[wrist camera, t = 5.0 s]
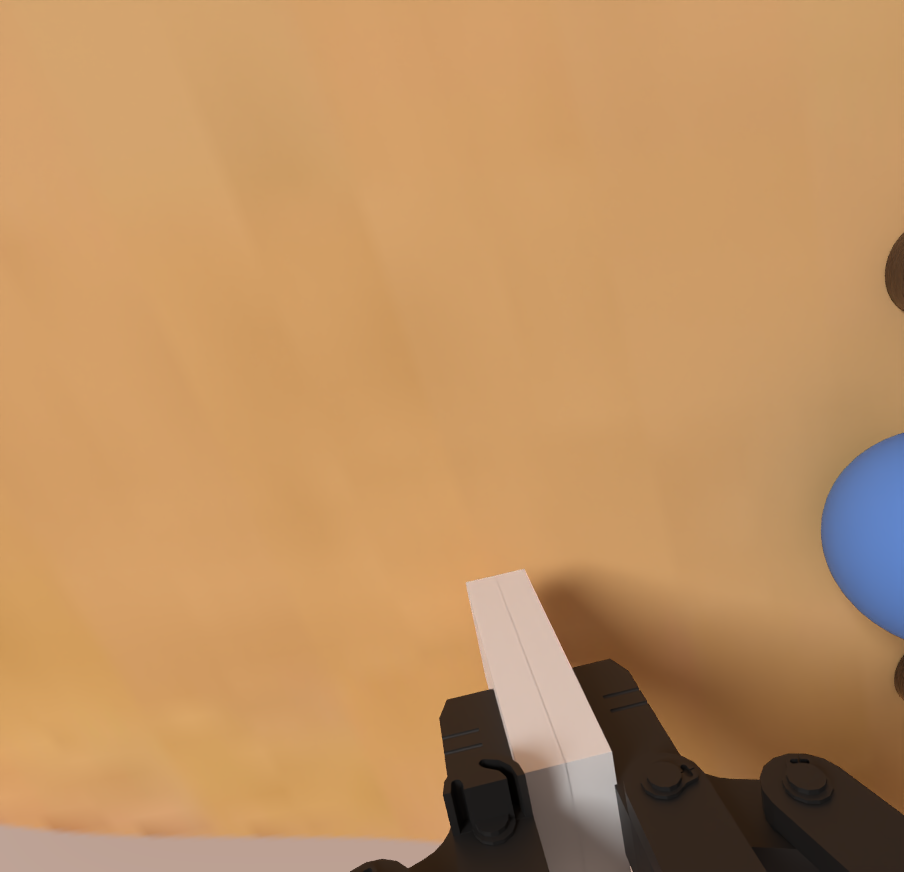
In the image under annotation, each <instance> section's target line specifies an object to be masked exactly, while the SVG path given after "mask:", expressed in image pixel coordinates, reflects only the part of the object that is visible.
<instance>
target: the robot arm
mask: <svg viewBox="0 0 904 872" xmlns="http://www.w3.org/2000/svg"><path fill="white" fill-rule="evenodd" d="M466 586H467V591H468V596H469V600H470V605H471V610H472V615H473V619H474V624H475V629H476V634H477V638H478V643H479V648H480V653H481V657H482V662H483V667H484V672H485V676H486V680H487V684H488V688H489V690H486V691H481V692H477V693H473V694H469V695H465V696H461V697H456V698H452V699H448V700H447V701H446V703H445V706H444V708H443V711H442V713H441V716H440V718H439V719H440V726H441V733H442V739H443V748H444V754H445V762H446V769H447V776H448V777H447V779H446V780H445V782H444V790H443V797H444V801H445V805H446V809H447V813H448V818H449V822H450V826H451V828H450V831H449V833H448V835H447V837H446V839H445V840H444V842H443V843H442V844H441V845H440V846H439V848H438V849H437V850H436V851H435V852H434V853H432V854H431V855H429V856H428V857H427V858H425V859H424V860H422V861H420V862H419V863H417V864H415V865H414V866H412V867H410V868H406V867H405V866H403V865H402V864H400V863H399V862H397V861H393V860H386V859H380V860H375V861H370V862H366V863H364V864H362V865H361V866H359V867H357V868H355V869H354V870H352V871H350V872H631V869H630V866H631V868H632V871H633V872H904V815H903V814H901V813H900V812H899V811H897V810H896V809H895V808H893V807H892V806H891V805H889V804H888V803H887V802H885V801H884V800H883V799H881V798H880V797H879V796H877V795H876V794H875V793H873V792H872V791H871V790H869V789H868V788H867V787H865V786H864V785H863V784H861V783H860V782H859V781H857V780H856V779H855V778H853V777H852V776H850V775H849V774H848V773H846V772H845V771H844V770H842V769H841V768H840V767H838V766H836V765H834V764H833V763H831V762H829V761H827V760H825V759H823V758H819V757H816V756H812V755H808V754H786V755H782V756H779V757H775V758H773V759H772V760H771V761H769V762H768V763H767V764H766V765H765V766H764V767H763V770H762V773H761V775H760V780H748V779H727V778H718V777H715V776H712V775H708V774H705V773H704V772H703V771H702V770H701V769H700V768H699V767H698V766H697V765H696V764H695V763H694V762H692V761H690V760H689V759H687V758H685V757H683V756H681V755H680V754H679V753H678V751H677V749H676V748H675V746H674V744H673V743H672V741H671V740H670V738H669V736H668V735H667V733H666V731H665V730H664V728H663V727H662V725H661V723H660V722H659V720H658V718H657V717H656V715H655V713H654V712H653V710H652V709H651V707H650V705H649V704H647V700H646V699H645V697H644V696H643V694H642V692H641V691H639V688H638V686H637V684H636V682H635V681H634V679H633V678H632V676H631V674H630V673H629V671H628V670H626V669H625V668H623V667H622V666H620V665H619V664H617V663H616V662H614V661H613V660H611V659H607V660H603V661H599V662H595V663H590V664H586V665H582V666H578V667H574V668H572V667H571V665H570V663H569V661H568V659H567V657H566V655H565V653H564V651H563V649H562V646H561V644H560V642H559V640H558V638H557V636H556V634H555V632H554V630H553V628H552V626H551V624H550V621H549V619H548V617H547V615H546V613H545V611H544V609H543V607H542V605H541V603H540V601H539V599H538V596H537V594H536V592H535V590H534V588H533V586H532V584H531V582H530V580H529V578H528V576H527V574H526V571H525V569H521V570H517V571H513V572H508V573H504V574H500V575H495V576H491V577H487V578H483V579H478V580H474V581H470V582H466Z"/></svg>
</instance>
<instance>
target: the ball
mask: <svg viewBox="0 0 904 872" xmlns="http://www.w3.org/2000/svg"><path fill="white" fill-rule="evenodd" d="M821 539H822V546H823V551H824V555H825V559H826V562H827V565H828V567H829V569H830V572H831V574H832V576H833V578H834V579H835V581H836V583H837V584H838V586H839V587H840V589H841V590H842V592H843V593H844V595H845V596H846V597H847V598H848V599H849V600H850V601H851V602H852V604H853V605H854V606H855V607H856V608H857V609H858V610H859V611H860V612H861V613H863V614H864V615H865V616H866V617H868V618H869V619H870V620H871V621H872V622H874V623H875V624H877V625H878V626H880V627H882V628H883V629H885V630H887V631H888V632H890V633H891V634H894V635H896V636H898V637H900V638H902V639H904V433H901V434H898V435H895V436H893V437H890V438H887V439H885V440H883V441H881V442H879V443H877V444H875V445H873V446H872V447H870V448H868V449H867V450H865V451H864V452H863V453H861V454H860V455H859V456H857V457H856V458H855V459H854V460H853V461H852V462H851V463H850V464H849V465H848V466H847V467H846V468H845V469H844V470H843V471H842V473H841V474H840V475H839V477H838V478H837V480H836V481H835V483H834V484H833V486H832V488H831V490H830V492H829V494H828V497H827V499H826V503H825V506H824V510H823V514H822V523H821Z"/></svg>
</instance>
